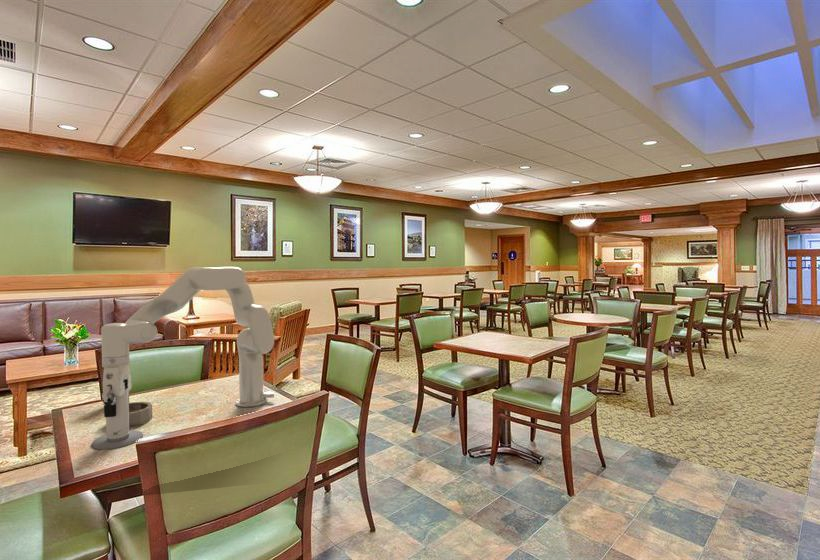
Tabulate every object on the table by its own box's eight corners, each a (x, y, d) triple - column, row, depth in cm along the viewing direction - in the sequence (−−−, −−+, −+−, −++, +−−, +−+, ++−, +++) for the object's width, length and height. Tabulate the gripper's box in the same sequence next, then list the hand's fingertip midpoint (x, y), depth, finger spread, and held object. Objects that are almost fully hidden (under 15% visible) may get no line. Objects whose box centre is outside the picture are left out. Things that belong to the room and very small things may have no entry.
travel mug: (118, 443, 138) (117, 382, 137) (101, 441, 140) (100, 381, 139) (134, 435, 144) (133, 377, 143) (118, 433, 146) (117, 376, 145)
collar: (157, 413, 167) (156, 400, 167) (143, 426, 154) (143, 412, 154) (118, 415, 164) (118, 403, 164) (101, 429, 151) (101, 415, 151)
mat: (149, 430, 150) (149, 428, 150) (132, 447, 137) (132, 445, 137) (104, 433, 147) (104, 431, 147) (82, 451, 134) (82, 449, 134)
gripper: (116, 366, 133) (118, 420, 134) (139, 354, 150) (140, 402, 151) (89, 367, 131) (91, 421, 132) (115, 355, 148) (116, 403, 149)
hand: (117, 411), depth 141 cm, fingers open, 9 cm apart
